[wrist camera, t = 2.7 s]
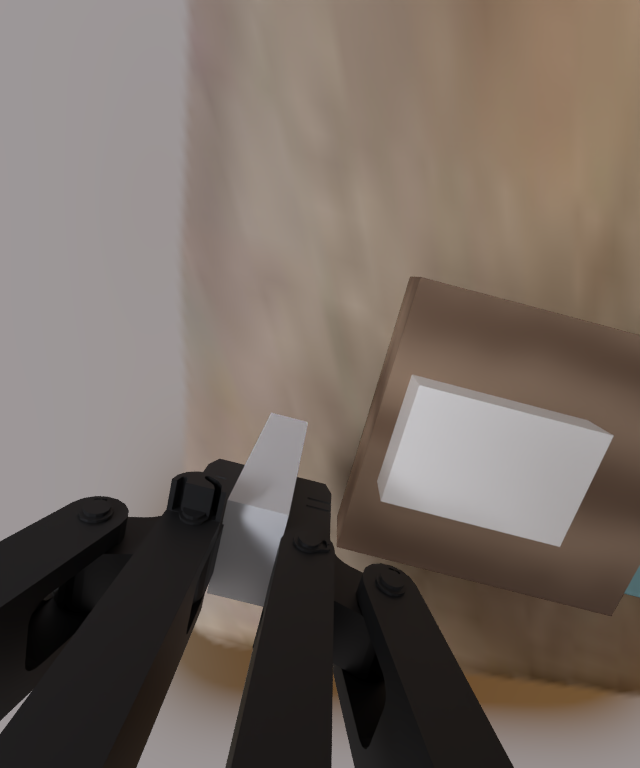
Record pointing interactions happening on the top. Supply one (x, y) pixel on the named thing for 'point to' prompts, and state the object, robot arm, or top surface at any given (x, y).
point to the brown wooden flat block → (528, 386)
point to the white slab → (490, 461)
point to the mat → (634, 585)
